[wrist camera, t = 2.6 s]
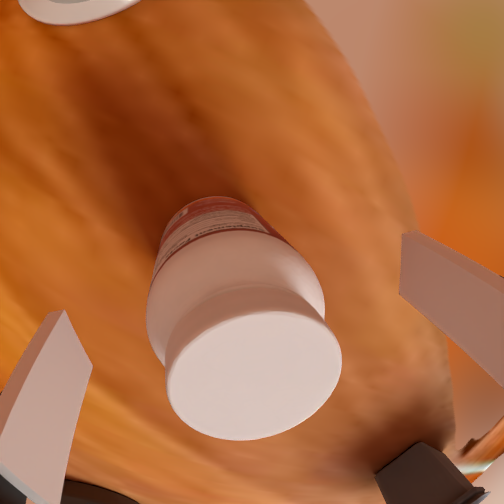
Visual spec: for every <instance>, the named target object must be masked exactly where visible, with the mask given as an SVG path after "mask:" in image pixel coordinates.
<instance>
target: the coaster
mask: <svg viewBox="0 0 504 504" xmlns="http://www.w3.org/2000/svg"><path fill="white" fill-rule="evenodd" d="M18 1H19V4H20V6H21V7H22V9H23V10H24V11H25V12H26V13H27V14H28V15H30V16H31V17H32V18H34V19H36V20H37V21H39V22H42V23H45V24H49V25H55V26H71V25H79V24H85V23H90V22H93V21H97V20H100V19H103V18H106V17H109V16H111V15H114V14H116V13H118V12H121V11H123V10H125V9H127V8H129V7H131V6H133V5H135V4H136V3H138V2H140V1H141V0H18Z"/></svg>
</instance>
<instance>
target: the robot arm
mask: <svg viewBox="0 0 504 504" xmlns="http://www.w3.org/2000/svg"><path fill="white" fill-rule="evenodd" d="M399 295H401V296H402V297H403V298H404V299H405V300H407V301H408V302H409V303H410V304H411V305H412V306H414V307H415V308H416V309H417V310H418V311H419V312H421V313H422V314H423V315H424V316H425V317H426V318H428V319H429V320H430V321H431V322H432V323H433V324H434V325H436V326H437V327H438V328H439V329H440V330H441V331H442V332H444V333H445V334H446V335H447V336H448V337H449V338H450V339H451V340H452V341H454V342H455V343H456V344H457V345H458V346H459V347H460V348H461V349H462V350H463V351H465V352H466V353H467V354H468V355H469V356H470V357H471V358H472V359H473V360H474V361H475V362H476V363H477V364H479V365H480V366H481V367H482V368H483V369H484V370H485V371H486V372H487V373H488V374H489V375H490V376H491V377H492V378H493V379H494V380H495V381H497V383H498V384H499V385H500V386H502V388H503V389H504V277H502V276H499V275H497V274H495V273H494V272H492V271H490V270H489V269H487V268H485V267H483V266H481V265H480V264H478V263H476V262H475V261H473V260H471V259H469V258H468V257H466V256H464V255H462V254H460V253H458V252H457V251H455V250H453V249H451V248H449V247H447V246H445V245H444V244H442V243H440V242H438V241H436V240H434V239H432V238H430V237H428V236H426V235H424V234H422V233H420V232H418V231H412V232H408V233H404V234H402V246H401V270H400V286H399ZM92 368H93V365H92V364H91V362H90V360H89V358H88V356H87V354H86V353H85V351H84V349H83V347H82V345H81V343H80V341H79V339H78V337H77V335H76V333H75V331H74V329H73V327H72V325H71V323H70V320H69V318H68V316H67V314H66V312H65V310H59V311H54V312H49V313H48V315H47V316H46V318H45V319H44V321H43V322H42V324H41V325H40V327H39V329H38V330H37V332H36V333H35V335H34V337H33V338H32V340H31V341H30V343H29V345H28V346H27V348H26V350H25V351H24V353H23V355H22V357H21V358H20V360H19V362H18V364H17V365H16V367H15V369H14V371H13V373H12V374H11V376H10V378H9V380H8V382H7V384H6V386H5V388H4V389H3V391H2V392H1V393H0V504H25V503H26V498H29V499H30V500H31V501H33V502H34V503H36V504H138V503H137V502H135V501H133V500H131V499H129V498H127V497H124V496H122V495H119V494H117V493H114V492H111V491H108V490H105V489H102V488H99V487H95V486H91V485H87V484H83V483H78V482H73V481H67V480H64V478H65V473H66V468H67V463H68V458H69V453H70V449H71V445H72V440H73V436H74V432H75V428H76V424H77V420H78V416H79V413H80V409H81V405H82V402H83V398H84V395H85V391H86V388H87V384H88V381H89V378H90V375H91V371H92Z"/></svg>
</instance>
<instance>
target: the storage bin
mask: <svg viewBox="0 0 504 504" xmlns="http://www.w3.org/2000/svg"><path fill="white" fill-rule="evenodd" d="M375 479H376V482H377V484H378V486H379V488H380V490H381V493H382V495H383V497H384V499H385V501H386V503H387V504H479V503H480V502H481V501H482V500H484V499H485V498H486V497H487V496H488V495H489V494H490V492H486V493H484V491H485V489H484V488H483V487H473V485H472V484H471V483H470V482H469V481H468V480H467V479H466V477H465V476H464V475H463V474H462V473H461V472H460V471H459V470H458V469H457V467H456V466H455V465H454V464H453V463H452V462H451V461H450V460H449V458H448V457H447V456H446V455H445V454H444V453H442V452H440V451H438V450H436V449H434V448H432V447H430V446H429V445H427V444H425V443H423V442H419V443H417V444H415V445H414V446H412V447H411V448H410V449H409V450H407V451H406V452H405V453H403V454H402V455H401V456H400V457H398V458H397V459H396V460H394V461H393V462H392V463H390V464H389V465H388V466H386V467H385V468H383V469H382V470H381V471H380V472H378V473H377V474H376V476H375Z"/></svg>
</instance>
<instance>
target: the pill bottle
mask: <svg viewBox="0 0 504 504" xmlns="http://www.w3.org/2000/svg"><path fill="white" fill-rule="evenodd" d="M324 314H325V304H324V297H323V293H322V289H321V286H320V284H319V281H318V279H317V277H316V275H315V273H314V272H313V270H312V268H311V267H310V265H309V264H308V263H307V262H306V261H305V259H304V258H303V257H302V256H301V255H300V254H299V253H298V252H297V251H296V250H295V249H294V248H293V247H292V246H291V245H290V244H289V243H288V242H287V241H286V240H285V239H284V238H283V237H282V236H281V235H280V234H279V233H278V232H277V231H276V230H275V229H274V228H273V227H272V226H270V225H269V224H268V223H267V222H266V221H265V220H264V219H263V218H262V217H261V216H260V215H259V214H258V213H257V212H256V211H255V210H254V209H252V208H251V207H250V206H248V205H247V204H245V203H243V202H241V201H239V200H236V199H233V198H229V197H223V196H212V197H205V198H201V199H198V200H196V201H193V202H191V203H189V204H188V205H186V206H184V207H183V208H182V209H180V210H179V211H178V212H177V213H176V214H175V215H174V216H173V217H172V219H171V220H170V221H169V223H168V224H167V226H166V228H165V230H164V233H163V235H162V238H161V242H160V246H159V250H158V254H157V258H156V262H155V266H154V271H153V276H152V281H151V285H150V290H149V294H148V299H147V307H146V327H147V333H148V337H149V340H150V343H151V346H152V348H153V350H154V352H155V354H156V356H157V357H158V359H159V360H160V361H161V363H162V364H163V365H164V366H165V384H166V392H167V396H168V400H169V402H170V404H171V406H172V408H173V410H174V411H175V412H176V414H177V415H178V416H179V417H180V418H181V419H182V420H183V421H184V422H185V423H186V424H188V425H189V426H190V427H192V428H193V429H195V430H197V431H199V432H201V433H203V434H206V435H209V436H212V437H216V438H221V439H227V440H253V439H259V438H264V437H269V436H272V435H275V434H278V433H281V432H284V431H286V430H288V429H290V428H292V427H294V426H296V425H298V424H299V423H301V422H303V421H304V420H306V419H307V418H309V417H310V416H311V415H313V414H314V413H315V412H316V411H317V410H318V409H319V408H320V407H321V406H322V405H323V404H324V402H325V401H326V400H327V399H328V398H329V396H330V395H331V393H332V392H333V390H334V388H335V386H336V384H337V382H338V379H339V376H340V372H341V366H342V356H341V350H340V346H339V344H338V341H337V339H336V337H335V335H334V334H333V332H332V331H331V329H330V328H329V326H328V325H327V323H326V322H325V321H324Z"/></svg>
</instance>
